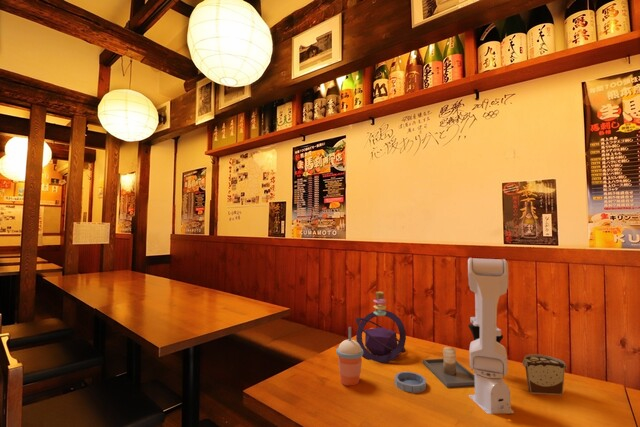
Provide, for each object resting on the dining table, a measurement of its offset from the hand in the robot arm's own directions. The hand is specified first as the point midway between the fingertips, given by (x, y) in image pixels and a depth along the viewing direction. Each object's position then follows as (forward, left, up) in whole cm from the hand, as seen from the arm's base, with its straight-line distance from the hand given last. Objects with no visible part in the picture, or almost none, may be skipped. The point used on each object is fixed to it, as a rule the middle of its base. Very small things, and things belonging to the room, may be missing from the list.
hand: (485, 350), depth 108 cm
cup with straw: (+3, +47, -10) cm, 48 cm away
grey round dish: (-2, +28, -10) cm, 30 cm away
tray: (+4, +11, -10) cm, 15 cm away
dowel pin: (+4, +11, -9) cm, 14 cm away
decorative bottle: (+24, +30, -10) cm, 39 cm away
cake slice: (-8, -13, -10) cm, 18 cm away
